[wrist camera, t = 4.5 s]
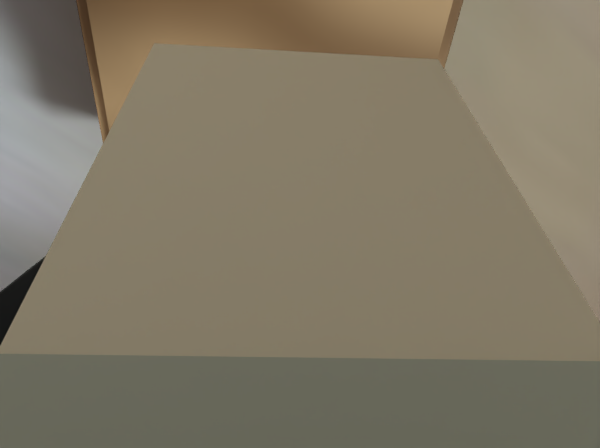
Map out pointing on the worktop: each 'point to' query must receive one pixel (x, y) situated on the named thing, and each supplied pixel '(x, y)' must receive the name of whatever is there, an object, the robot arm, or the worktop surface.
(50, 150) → the worktop surface
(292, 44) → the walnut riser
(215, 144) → the cream block
